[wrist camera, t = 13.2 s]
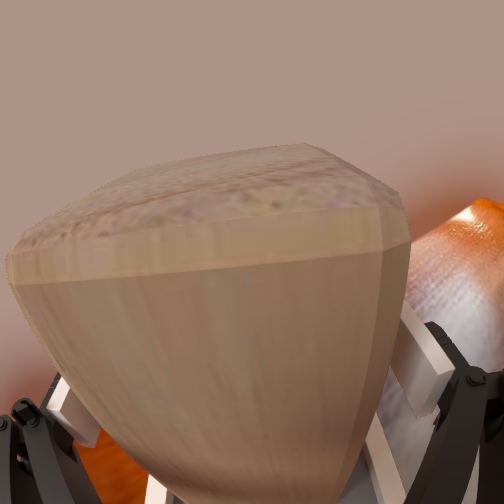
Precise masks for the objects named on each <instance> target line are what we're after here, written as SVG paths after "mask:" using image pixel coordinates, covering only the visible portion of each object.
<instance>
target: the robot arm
mask: <svg viewBox="0 0 504 504" xmlns="http://www.w3.org/2000/svg"><path fill="white" fill-rule="evenodd" d="M390 365H391V367H392V369H393V371H394V373H395V375H396V377H397V379H398V381H399V383H400V385H401V387H402V389H403V391H404V393H405V395H406V397H407V399H408V401H409V403H410V405H411V407H412V409H413V412H414V414H415V416H416V418H420V417H422V416H425V415H427V414H430V413H432V412H433V411H434V409H435V407H436V405H438V406H439V408H440V410H441V411H440V413H439V414H438V416H437V418H436V419H435V421H434V423H433V425H435V428H434V431H433V434H432V437H431V439H430V442H429V445H428V448H427V451H426V453H425V456H424V458H423V461H422V463H421V466H420V468H419V471H418V473H417V475H416V478H415V480H414V482H413V484H412V486H411V489H410V491H409V493H408V495H407V497H406V499H405V501H404V503H403V504H461V503H462V500H463V498H464V495H465V492H466V489H467V486H468V483H469V480H470V477H471V473H472V470H473V466H474V463H475V459H476V455H477V451H478V447H479V478H478V491H477V500H476V504H504V368H503V369H502V371H499V372H492V373H486V372H485V371H484V370H483V369H481V368H479V367H476V366H470V365H469V364H468V362H467V361H466V359H465V358H464V357H463V355H462V354H461V353H460V351H459V350H458V349H457V347H456V346H455V345H454V343H452V341H451V339H450V338H449V337H447V334H446V333H445V331H444V330H443V329H442V328H441V327H440V326H439V325H437V324H435V323H434V322H432V321H431V322H428V323H425V324H424V323H423V322H422V321H421V319H420V318H419V317H418V315H417V314H416V313H415V312H414V310H413V309H412V308H411V306H410V305H409V304H408V303H407V301H406V300H405V299H404V301H403V306H402V312H401V317H400V322H399V327H398V332H397V336H396V341H395V345H394V349H393V353H392V357H391V361H390ZM50 387H51V388H49V390H48V392H47V394H46V396H45V398H44V400H43V402H42V404H41V406H40V408H39V409H38V408H37V407H36V405H35V404H34V403H33V402H32V401H31V400H30V399H29V398H22V399H20V400H18V401H17V402H16V403H15V404H14V405H13V407H12V409H11V415H12V417H13V418H14V419H15V420H16V422H14V421H13V420H12V419H11V418H10V417H9V416H8V415H2V416H0V504H103V503H102V502H101V500H100V498H99V496H98V494H97V492H96V490H95V489H94V487H93V485H92V483H91V481H90V479H89V477H88V474H87V472H86V470H85V468H84V466H83V464H82V461H81V459H80V457H79V454H78V452H77V450H76V448H75V446H74V445H73V444H72V443H73V440H74V439H75V440H76V441H77V442H78V443H79V444H80V445H82V446H86V447H91V448H95V445H96V442H97V438H98V435H99V432H100V429H101V425H100V424H99V423H98V422H97V421H96V419H95V418H94V417H93V416H92V415H91V414H90V412H89V411H88V410H87V409H86V408H85V406H84V405H83V404H82V403H81V401H80V400H79V399H78V397H77V396H76V395H75V394H74V392H73V391H72V390H71V388H70V387H69V386H68V384H67V383H66V381H65V380H64V379H63V377H62V376H61V374H60V373H59V372H58V373H57V375H56V377H55V378H54V382H52V384H51V386H50ZM17 455H19V456H20V462H19V461H18V460H17Z"/></svg>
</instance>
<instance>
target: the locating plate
mask: <svg viewBox="0 0 504 504" xmlns="http://www.w3.org/2000/svg"><path fill="white" fill-rule="evenodd" d="M405 499H406V493H405V490H404V487H403V484H402V481H401V479H400V476H399V473H398V470H397V467H396V464H395V461H394V458H393V456H392V453H391V450H390V447H389V445H388V442H387V439H386V437H385V434H384V431H383V429H382V426H381V423H380V421H379V418H378V416H377V413H376V412H375V415H374V417H373V420H372V423H371V426H370V429H369V431H368V434H367V437H366V439H365V442H364V444H363V447H362V449H361V452H360V454H359V457H358V459H357V461H356V464H355V466H354V468H353V471H352V473H351V475H350V477H349V479H348V482H347V484H346V486H345V488H344V490H343V492H342V494H341V496H340V498H339V500H338V502H337V504H403V503H404V501H405ZM145 504H186V503H185V502H183V501H182V500H181V499H179V498H178V497H177V496H175V495H174V494H173V493H172V492H170V491H169V490H168V489H167V488H165V487H164V486H163V485H162V484H160V483H159V482H158V481H157V480H156V479H155V478H153V477H152V476H151V475H150V474H149V479H148V485H147V492H146V499H145Z"/></svg>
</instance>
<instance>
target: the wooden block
mask: <svg viewBox="0 0 504 504" xmlns="http://www.w3.org/2000/svg"><path fill="white" fill-rule="evenodd" d="M410 251H411V234H410V228H409V224H408V221H407V217H406V212H405V208H404V206H403V204H402V201H401V199H400V196H399V194H398V192H397V191H395V190H393V189H392V188H390V187H389V186H387V185H386V184H384V183H382V182H381V181H379V180H377V179H376V178H374V177H372V176H370V175H369V174H367V173H365V172H364V171H362V170H360V169H358V168H357V167H355V166H353V165H351V164H350V163H348V162H346V161H344V160H342V159H341V158H339V157H337V156H335V155H333V154H331V153H329V152H327V151H325V150H324V149H321V148H318V147H315V146H312V145H309V144H306V143H305V144H293V145H283V146H274V147H264V148H255V149H248V150H240V151H233V152H226V153H220V154H214V155H207V156H202V157H196V158H190V159H185V160H179V161H174V162H169V163H164V164H159V165H155V166H150V167H146V168H141V169H137V170H135V171H133V172H130V173H128V174H126V175H124V176H122V177H120V178H118V179H116V180H114V181H112V182H110V183H108V184H106V185H104V186H102V187H100V188H98V189H96V190H94V191H92V192H91V193H89V194H87V195H85V196H83V197H82V198H80V199H78V200H76V201H74V202H72V203H71V204H69V205H67V206H65V207H64V208H62V209H60V210H59V211H57V212H55V213H54V214H52V215H50V216H49V217H47V218H45V219H44V220H42V221H40V222H39V223H37V224H36V225H34V226H33V227H31V228H29V229H28V230H27V231H25V232H24V233H23V234H22V235H21V237H20V238H19V239H18V240H17V242H16V243H15V244H14V246H13V247H12V249H11V250H10V252H9V253H8V255H7V256H6V258H5V265H6V272H7V280H8V283H9V285H10V287H11V289H12V292H13V294H14V296H15V298H16V300H17V302H18V304H19V306H20V308H21V310H22V312H23V314H24V316H25V318H26V319H27V321H28V323H29V325H30V326H31V328H32V330H33V332H34V334H35V335H36V337H37V339H38V340H39V342H40V344H41V345H42V347H43V349H44V350H45V352H46V353H47V355H48V356H49V358H50V359H51V361H52V363H53V364H54V366H55V367H56V369H57V370H58V372H59V373H60V374H61V376H62V377H63V379H64V380H65V381H66V383H67V384H68V386H69V387H70V388H71V390H72V391H73V392H74V394H75V395H76V396H77V397H78V399H79V400H80V401H81V403H82V404H83V405H84V406H85V408H86V409H87V410H88V411H89V412H90V414H91V415H92V416H93V417H94V418H95V419H96V421H97V422H98V423H99V424H100V425H101V426H102V427H103V429H104V430H105V431H106V432H107V433H108V434H109V435H110V436H111V437H112V438H113V439H114V440H115V441H116V443H117V444H118V445H119V446H120V447H121V448H122V449H123V450H124V451H125V452H126V453H127V454H128V455H129V456H130V457H131V458H133V459H134V460H135V461H136V462H137V463H138V464H139V465H140V466H141V467H142V468H143V469H144V470H145V471H147V472H148V473H149V474H150V475H151V476H152V477H153V478H155V479H156V480H157V481H158V482H159V483H160V484H162V485H163V486H164V487H165V488H167V489H168V490H169V491H170V492H172V493H173V494H174V495H175V496H177V497H178V498H179V499H181V500H182V501H183V502H185V503H186V504H337V502H338V500H339V498H340V496H341V494H342V492H343V490H344V488H345V486H346V484H347V482H348V479H349V477H350V475H351V473H352V471H353V468H354V466H355V464H356V461H357V459H358V457H359V454H360V452H361V449H362V447H363V444H364V442H365V439H366V437H367V434H368V431H369V429H370V426H371V423H372V420H373V417H374V415H375V412H376V409H377V406H378V403H379V399H380V396H381V393H382V390H383V386H384V383H385V379H386V376H387V372H388V369H389V365H390V361H391V357H392V353H393V349H394V345H395V341H396V336H397V332H398V327H399V322H400V317H401V312H402V306H403V301H404V295H405V288H406V282H407V275H408V267H409V259H410Z"/></svg>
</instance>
